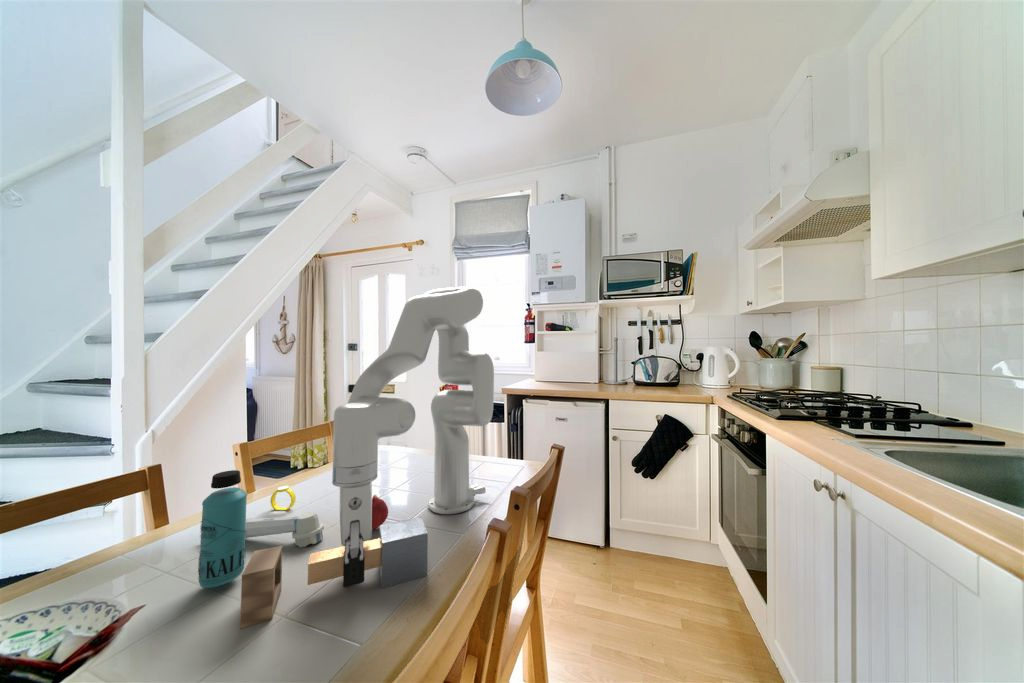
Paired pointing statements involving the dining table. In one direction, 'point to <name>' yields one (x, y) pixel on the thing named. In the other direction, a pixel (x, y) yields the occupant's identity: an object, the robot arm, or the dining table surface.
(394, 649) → the dining table surface
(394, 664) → the dining table surface
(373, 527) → the onion
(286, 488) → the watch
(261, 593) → the socket
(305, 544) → the white long handled piece
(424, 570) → the sleeve
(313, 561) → the banded wooden beam
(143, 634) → the dining table surface
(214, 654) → the dining table surface
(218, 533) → the beverage bottle
